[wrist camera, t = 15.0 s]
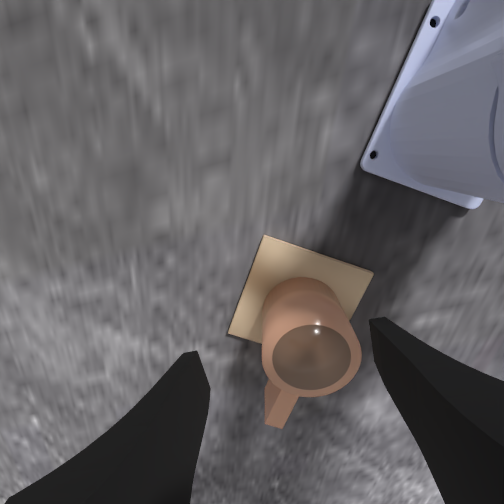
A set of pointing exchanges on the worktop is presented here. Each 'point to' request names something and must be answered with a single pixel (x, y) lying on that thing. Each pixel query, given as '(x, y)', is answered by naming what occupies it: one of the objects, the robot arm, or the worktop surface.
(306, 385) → the mug
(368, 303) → the worktop surface
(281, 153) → the worktop surface
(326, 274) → the mat
